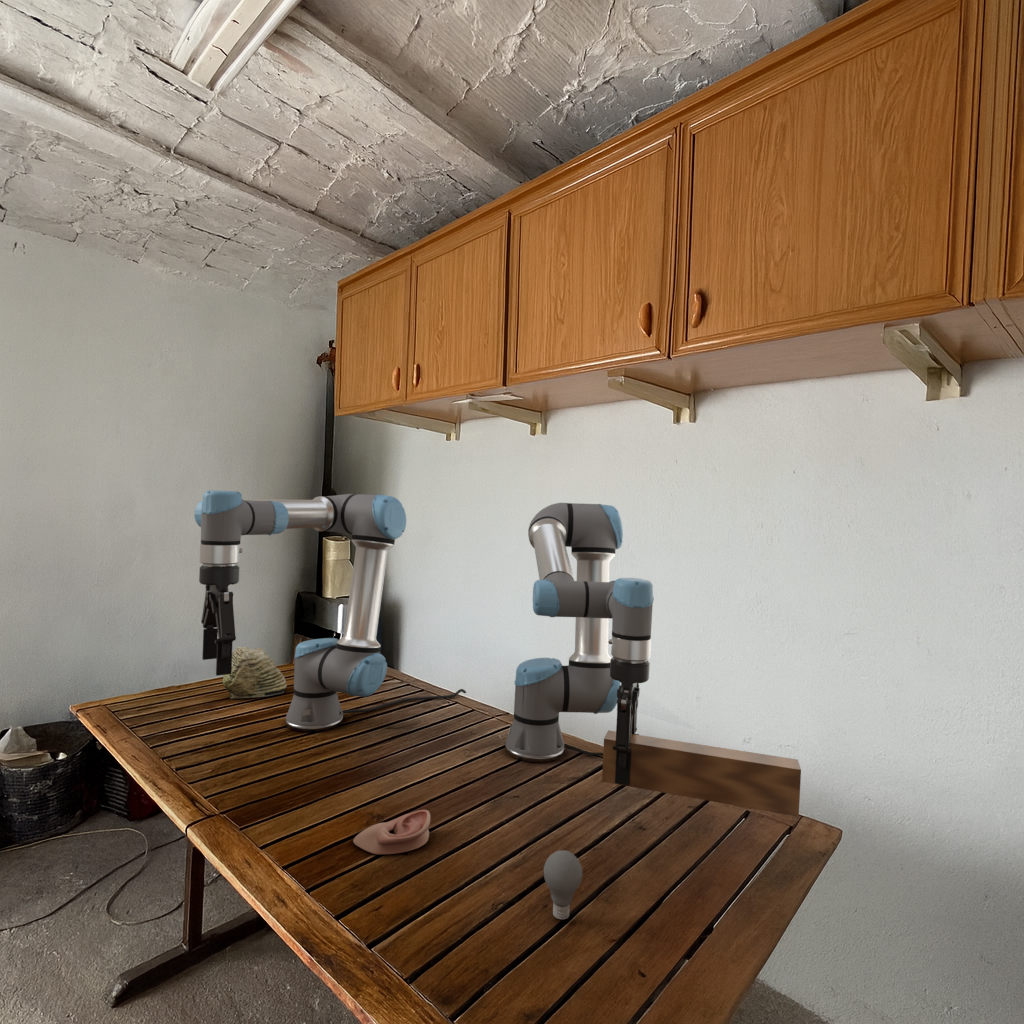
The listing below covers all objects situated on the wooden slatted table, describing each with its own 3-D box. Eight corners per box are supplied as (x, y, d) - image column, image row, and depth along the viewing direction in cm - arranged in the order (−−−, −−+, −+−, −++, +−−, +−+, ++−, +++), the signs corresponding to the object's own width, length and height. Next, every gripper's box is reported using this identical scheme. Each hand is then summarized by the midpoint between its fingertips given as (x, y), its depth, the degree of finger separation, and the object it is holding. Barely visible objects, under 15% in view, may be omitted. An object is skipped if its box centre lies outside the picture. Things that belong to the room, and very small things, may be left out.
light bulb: (539, 904, 101) (542, 842, 101) (576, 904, 101) (579, 842, 101) (544, 930, 95) (547, 864, 95) (583, 929, 95) (586, 864, 95)
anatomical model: (346, 827, 114) (372, 798, 125) (345, 849, 114) (372, 818, 125) (416, 839, 111) (436, 808, 122) (415, 861, 111) (436, 828, 123)
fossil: (218, 695, 195) (220, 647, 195) (278, 685, 208) (279, 640, 207) (228, 703, 189) (230, 653, 188) (289, 692, 201) (290, 645, 201)
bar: (795, 804, 116) (797, 759, 116) (798, 817, 111) (801, 769, 111) (606, 771, 127) (608, 730, 127) (601, 781, 122) (603, 738, 122)
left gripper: (254, 571, 124) (250, 679, 124) (225, 558, 144) (222, 651, 144) (212, 572, 119) (209, 684, 120) (189, 558, 139) (185, 654, 140)
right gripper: (617, 646, 133) (612, 757, 133) (602, 667, 115) (596, 793, 116) (654, 651, 130) (648, 763, 131) (644, 672, 113) (638, 801, 113)
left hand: (216, 666), depth 132 cm, fingers open, 13 cm apart
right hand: (624, 777), depth 123 cm, fingers closed on bar, 5 cm apart
